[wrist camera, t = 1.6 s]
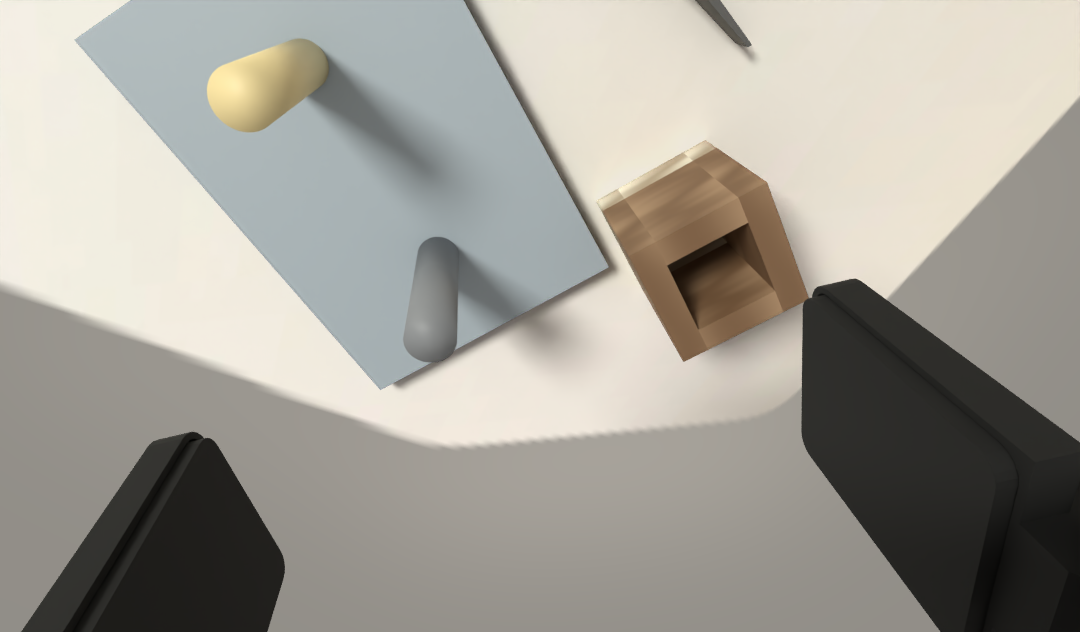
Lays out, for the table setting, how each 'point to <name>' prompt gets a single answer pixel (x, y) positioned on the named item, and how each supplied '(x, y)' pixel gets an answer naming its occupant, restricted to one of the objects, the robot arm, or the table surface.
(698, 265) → the sleeve
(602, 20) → the table surface
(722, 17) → the headband
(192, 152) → the board
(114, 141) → the table surface
